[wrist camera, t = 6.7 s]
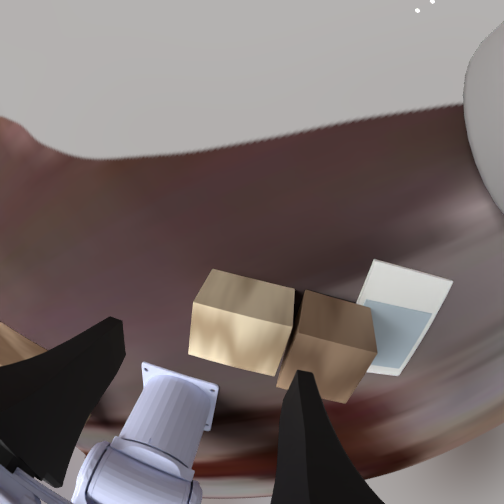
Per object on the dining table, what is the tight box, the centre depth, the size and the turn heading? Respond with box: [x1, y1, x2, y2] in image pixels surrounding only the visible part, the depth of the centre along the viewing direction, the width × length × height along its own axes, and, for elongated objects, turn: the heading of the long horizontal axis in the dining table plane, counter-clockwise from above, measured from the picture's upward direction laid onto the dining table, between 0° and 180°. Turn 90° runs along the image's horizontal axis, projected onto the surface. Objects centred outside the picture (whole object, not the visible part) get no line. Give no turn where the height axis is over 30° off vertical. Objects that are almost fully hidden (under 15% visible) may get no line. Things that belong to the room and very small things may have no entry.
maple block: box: [188, 269, 295, 376], centre depth 20 cm, size 4×4×6 cm
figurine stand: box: [0, 322, 91, 426], centre depth 30 cm, size 12×16×6 cm
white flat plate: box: [356, 259, 453, 376], centre depth 21 cm, size 10×7×1 cm
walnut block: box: [276, 290, 378, 403], centre depth 19 cm, size 5×5×5 cm
